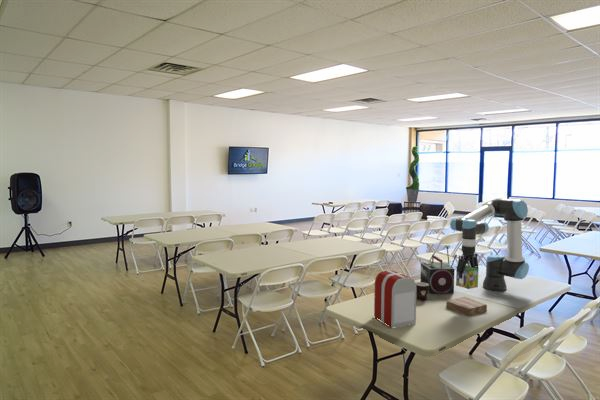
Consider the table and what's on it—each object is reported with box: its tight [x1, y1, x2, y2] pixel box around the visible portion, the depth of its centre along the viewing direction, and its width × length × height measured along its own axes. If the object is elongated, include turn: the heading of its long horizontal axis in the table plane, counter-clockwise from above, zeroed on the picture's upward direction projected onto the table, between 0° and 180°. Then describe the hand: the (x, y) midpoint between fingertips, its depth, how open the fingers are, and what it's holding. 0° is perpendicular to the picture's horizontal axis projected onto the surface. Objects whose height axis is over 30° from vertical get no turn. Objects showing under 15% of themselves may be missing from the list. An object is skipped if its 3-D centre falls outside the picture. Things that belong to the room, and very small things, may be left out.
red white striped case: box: [373, 269, 417, 329], centre depth 220 cm, size 16×18×27 cm
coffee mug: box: [415, 281, 429, 302], centre depth 256 cm, size 12×9×10 cm
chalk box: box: [455, 261, 480, 290], centre depth 237 cm, size 9×9×15 cm
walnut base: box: [445, 296, 488, 317], centre depth 238 cm, size 16×16×4 cm
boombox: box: [419, 245, 458, 295], centre depth 274 cm, size 18×21×30 cm
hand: (467, 282), depth 237 cm, fingers closed on chalk box, 9 cm apart
